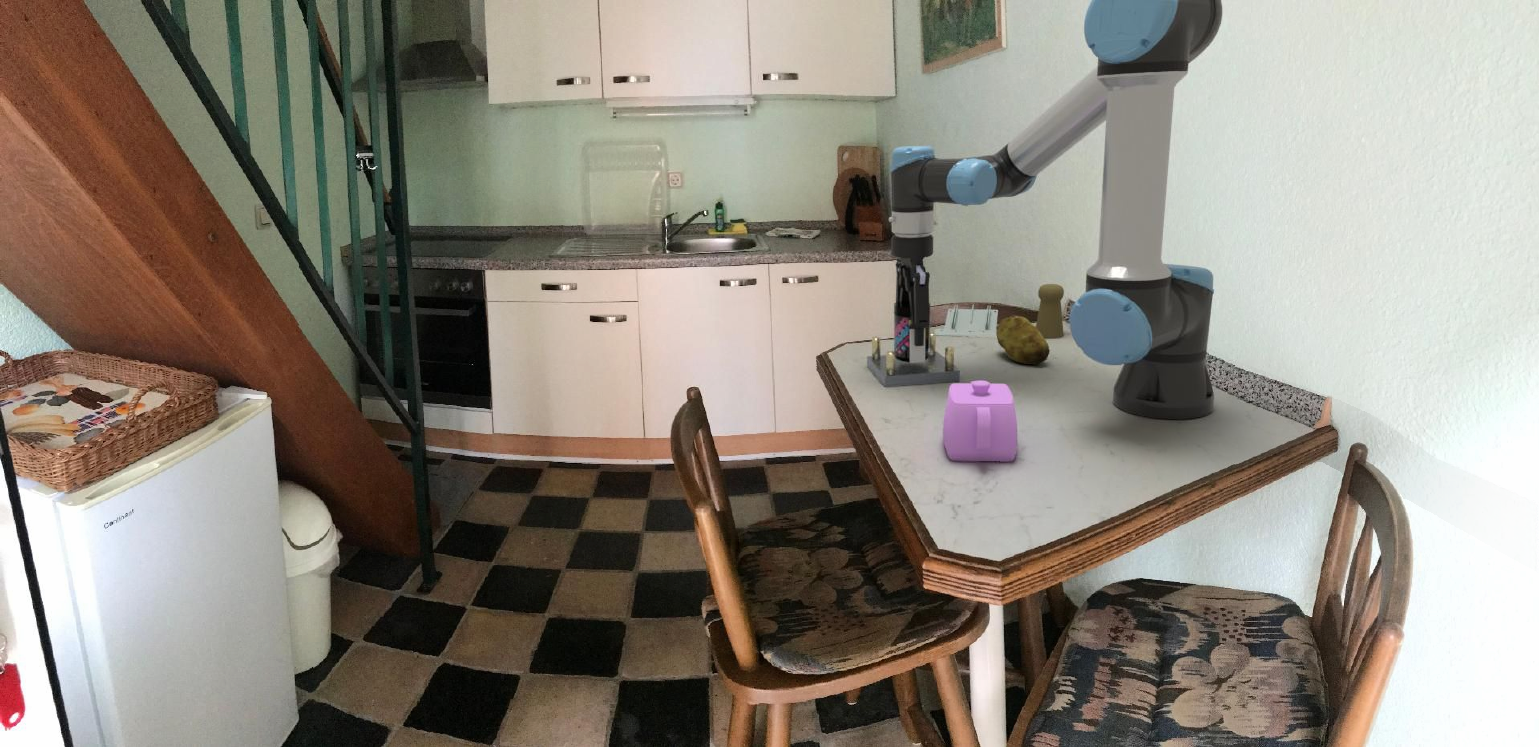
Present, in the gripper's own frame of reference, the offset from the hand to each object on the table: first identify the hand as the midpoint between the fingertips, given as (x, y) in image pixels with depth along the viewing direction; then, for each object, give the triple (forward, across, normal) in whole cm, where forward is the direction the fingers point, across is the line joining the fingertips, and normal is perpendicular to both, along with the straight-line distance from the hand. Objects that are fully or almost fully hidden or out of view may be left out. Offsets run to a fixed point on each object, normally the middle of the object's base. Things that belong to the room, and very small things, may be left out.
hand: (911, 356), depth 168 cm
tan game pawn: (+4, -20, +36) cm, 41 cm away
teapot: (+4, +39, -1) cm, 39 cm away
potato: (+4, -4, +23) cm, 24 cm away
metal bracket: (+4, -29, +22) cm, 37 cm away
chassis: (+3, 0, 0) cm, 3 cm away
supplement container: (+1, 0, 0) cm, 1 cm away
